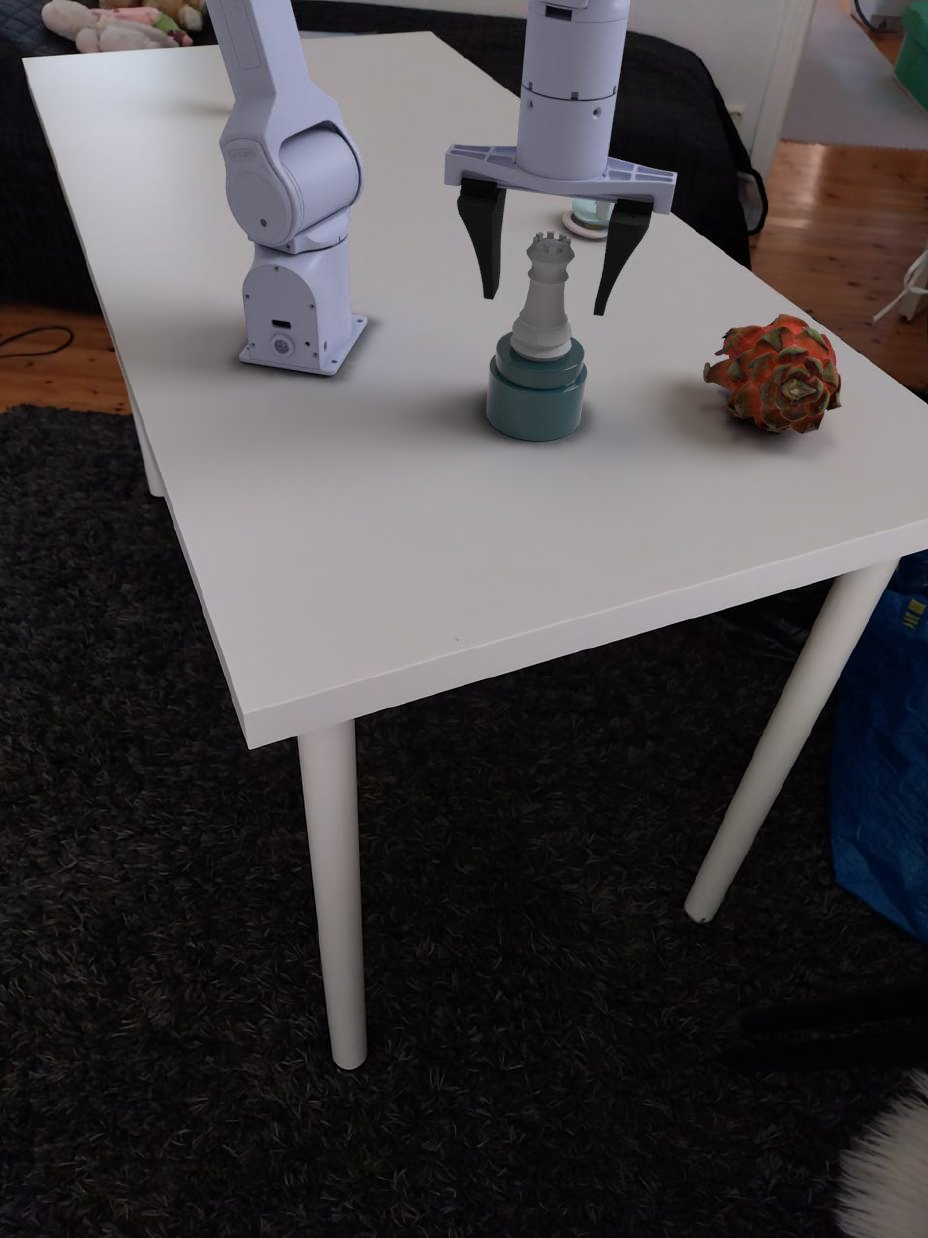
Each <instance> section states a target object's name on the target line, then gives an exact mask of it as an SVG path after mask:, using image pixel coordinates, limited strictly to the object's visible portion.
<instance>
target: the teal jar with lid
mask: <svg viewBox="0 0 928 1238" xmlns="http://www.w3.org/2000/svg"><path fill="white" fill-rule="evenodd" d="M512 335H513V333H512V330H511V331H509V332H507V333H505V334H504V335H503V336H501V337H500V338H499V339H498V341H497V342H496V346H495V353H494V354H493V356H492V357H491V358H490V360H489V365H488V379H487V393H486V407H485V408H486V409H485V414H486V418H487V419H488V422H489V423H490V424H491V425H492V426H493V427H494V428H495V429H496V430H498V431H499V432H501V434H502V433H503V434H504V435H506V436H509V437H512V438H514V439H517V440H523V441H528V442H529V441H530V442H549V441H554V440H558V439H562V438H564V437H567V436H569V435H571V434H572V433H573V432H575V430H576V429H577V428H578V427H579V425H580V422H581V418H582V413H583V412H582V411H583V405H584V398H585V391H586V386H587V379H588V378H587V377H588V368H587V366H586V364H585V362H584V361H585V354H586V353H585V349H584V347H583V345H582V344H581V342H579V340H577V338H574V336H571V338H570V340H571V346H572V347H571V348H570V350H569V351H568V352H567V353H566V354H565V355H564V356H563V357H562V358H560V359H558V360H555V361H549V362H536V361H532V360H528V359H525V358H523V357H522V356H520V355H518V354H517V352H516V351H515V350H514V349H513V347H512V346H511V344H510V338H511V336H512Z"/></svg>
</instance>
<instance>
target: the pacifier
mask: <svg viewBox="0 0 928 1238" xmlns="http://www.w3.org/2000/svg"><path fill="white" fill-rule="evenodd" d="M612 205H613V203H608V202H601V201H593V200H586V199H578V198H573V200H572V203H571V210H570V211H567V212H565V213H564V214H563V215H562V217H561V221H562V223H563V225H564V226H565V227H566V228H567V229H568V230H569V231H570V232H573V233H574V234H576V235H578V236H581V237H584V238H589V239H603V238H607V234H608V226H609V221H610V217H611V214H612V210H613V208H614V207H613V206H612ZM575 219H578V221H581V222H583V223H584V227H582V226H580V225H578V224H577V223H575V222H574V221H573V220H575Z"/></svg>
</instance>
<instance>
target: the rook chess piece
mask: <svg viewBox="0 0 928 1238" xmlns="http://www.w3.org/2000/svg"><path fill="white" fill-rule="evenodd" d="M571 245H572V240H571V238H570V237H568V235H567V234H565V233H563V232H561V233H559V235H558V238H555V230H547V231H546V237H544V233H543V232H541V231H540V232H537V233H535V236H533V237H532V243H531V244H530V245H529V247H527V249H525V250H526V255H527V257H528V259H529V260H530V262H531V267H530V269H529V270H528V271H527V276H528V278H529V286H528V291H527V295H526V299H525V303H524V305H523V308H522V309H521V311H519V315H518V316H517V318H516V319H515V320H514V321H513V324H512V326H511V331H512V333H513V335H512V336H511V338H510V344H511V346H512V347H513V349H514V350H515V351H516V352H517V354H518V355H520V356H522V357H523V358H525V359H528V360H532V361H536V362H549V361H555V360H558V359H560V358H562V357H563V356H564V355H565V354H566V353H567V352H568V351H569V350H570V348H571V347H572V346H571V340H570V338H571V337H573V333H572V326H571V323H570V322H569V318H568V314H566V312H565V311H566V310H565V286H566V282H567V281H568V279H570V276H569V273H568V272H567V268H568V265H569V264H570V263H571V262H572V261H573V260H574V259H575V257H576V256H575V255H576V254H575V251H574V250H573V248H572V247H571Z"/></svg>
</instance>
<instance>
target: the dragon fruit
mask: <svg viewBox="0 0 928 1238" xmlns="http://www.w3.org/2000/svg"><path fill="white" fill-rule="evenodd" d="M721 339H724V340H723V343H722V344H723V345H722V348H721V349H719V350H717V351H716V352H714V353H713V354H714V356H716V357H720V356H722V355H725V356H728V358H726V359H723V360H721V361H718V362H716V363H714V364H713V365H712V366H711V363H710V362H705V363H704V367H703V370H702V378H703V381H704V382H705V383H706V384H715V385H718V386H720V387H722V388H724V389H726V390H729V391H732V395H731V397H730V399H729V400H728V402H727V404H726V408H727V410H728V411H729V413H731V414H732V415H733V416H734V417H735V418H740V419H741V418H742V419H747V418H751V417H753V420H754V423H755V425H756V426H758V427H759V428H760V429H764V430H766V431H767V432H773V433H779V434H783V433H784V432H785V431H787V430H789V429H792V430H793V431H795V432H796V433H799V434H801V435H803V434H806V433H812V432H814V431H819V429H820V426H821V423H822V421H823V419H824V417H825V411H827V412H829V411H833V410H836V409H840V408H842V407H843V405H842V404H841V400H840V396H841V395H840V394H841V391H842V390H841V389H842V377H841V375H840V373H839V372H838V368H837V355H836V351H835V350H834V348H833V346H832V343H831V341H830V339H829V338H828V336H827V335H826V334H825V333H820V332H819V331H818V330H817V329H815V328H812V327H810V325H809V324H808V322H806V321H805V320H803V319H802V318H799V317H797V316H794V315H791V314H790V315H789V314H788V313H779V314H778V316H777V317H775V319H774V320H773V321H772V322H770V323H769V324H767V325H766V326H760V325H754V324H750V325H747V326H741V327H740V326H738V327H730V329H729V330H728V331H727V332H724V335H722V337H721ZM733 391H734V392H733Z"/></svg>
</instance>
